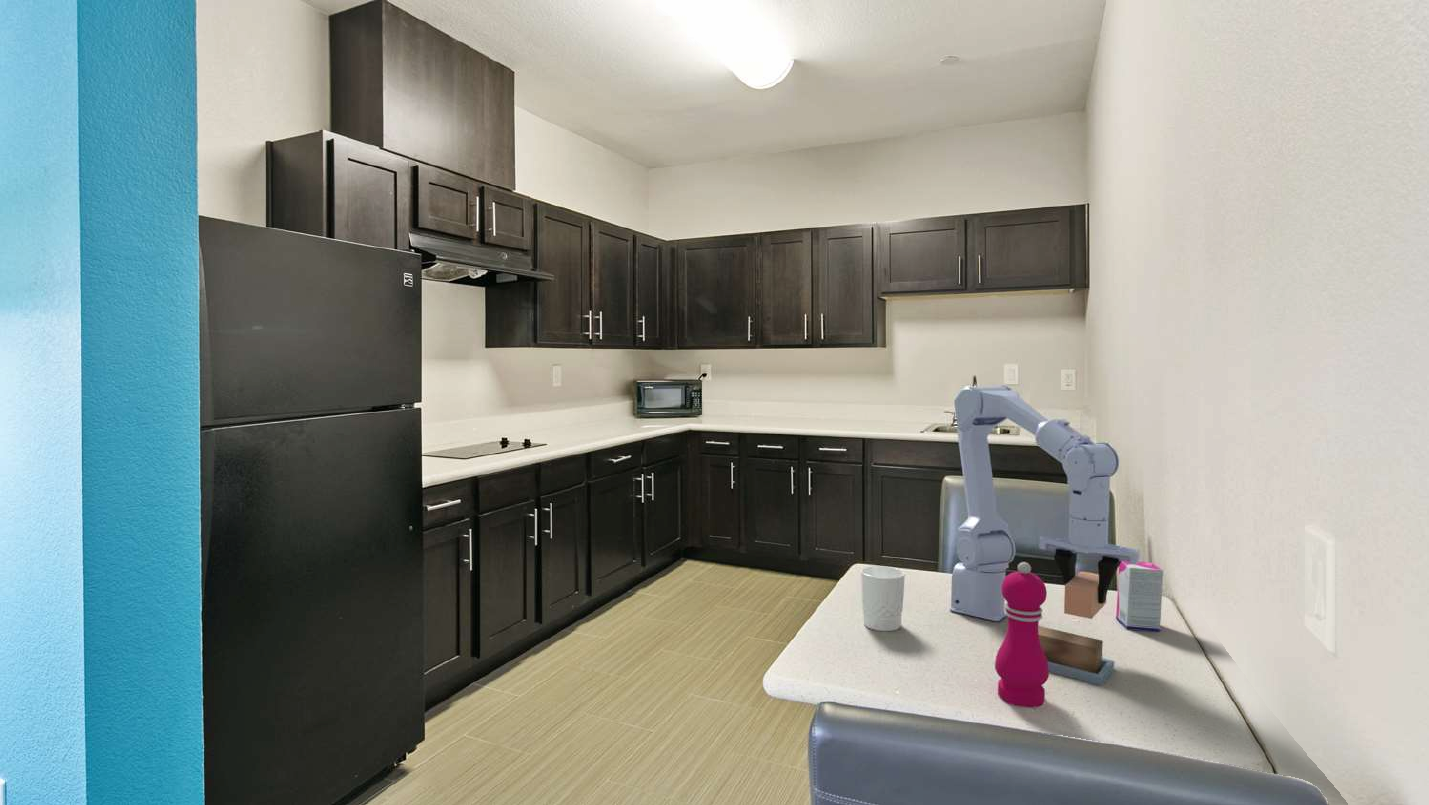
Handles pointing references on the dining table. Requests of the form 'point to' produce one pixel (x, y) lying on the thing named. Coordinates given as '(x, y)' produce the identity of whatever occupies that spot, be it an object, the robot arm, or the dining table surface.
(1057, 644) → the wooden block on base
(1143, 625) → the supplement box
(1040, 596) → the pepper mill
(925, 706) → the dining table surface
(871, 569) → the white cup
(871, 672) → the dining table surface
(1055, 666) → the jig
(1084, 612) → the pinkish tan block
